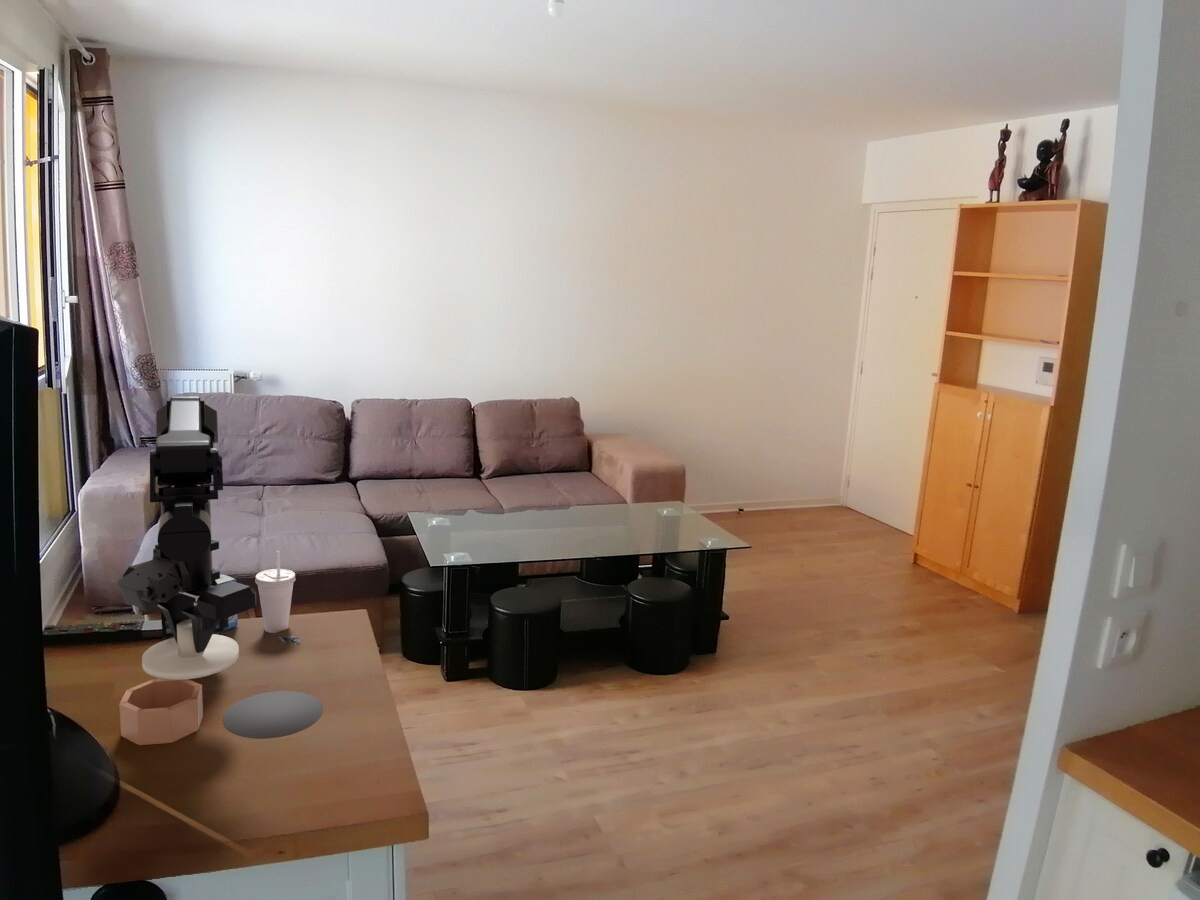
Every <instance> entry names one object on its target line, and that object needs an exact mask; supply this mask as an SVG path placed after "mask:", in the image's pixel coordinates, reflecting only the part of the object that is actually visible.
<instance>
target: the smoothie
mask: <svg viewBox="0 0 1200 900" xmlns="http://www.w3.org/2000/svg"><path fill="white" fill-rule="evenodd" d="M275 554H276V568H272V569H265V570H262V571H260V572H258V573H257V574H256V575H255V580H254V581H255V584H256V585H257V589H258V595H259V601H260V602H259V603H260V608H261V614H262V621H263V625H264V631H265V632H266V633H269V634H277V633H280V632H282V631H285V630H287V629H289V622H290V621H289V620H290V613H291V605H292V596H293V587H294V582H295V581H296V573H295V572H294V571H293V570H291V569H286V568H281V551H280V550H276V552H275Z"/></svg>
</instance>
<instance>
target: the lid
mask: <svg viewBox="0 0 1200 900" xmlns="http://www.w3.org/2000/svg"><path fill="white" fill-rule="evenodd" d="M177 644H178V645H177ZM239 657H240V647H239V644H238V642H237V641H236V640H235V639H233V638H231V637H229V636H225V635H222V634H221V635H220V634H213V635H212V637H211V639H210V641H209V643H208V645H207V647H206V649H205V650H204V651H203V652H200V653H197V652H196V650H195V646H194V639H193V631H192V623H191V619H188V620H184V621H181V622H179V623H178V624H177V643H176V640H175V638H172V637H170V638H168V639H167V638H166V639H165V640H162V641H159V642H157V643H155V644H153V645H152V646H150V647H149V648H147V649H146V650H145V651H144V652H143V654H142V656H141V661H142V662H141V664H142V670H143V672H144V673H146V674H147V675H149V676H151V677H154V678H156V679H170V680H184V679H189V680H191V679H199V678H204V677H208V676H211V675H214V674H218V673H220V672H222V671H224V670H226V669H228V668H229V667H231V666H233V665H234V664H235V663H236V662H237V660H238V659H239Z"/></svg>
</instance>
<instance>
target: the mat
mask: <svg viewBox="0 0 1200 900" xmlns="http://www.w3.org/2000/svg"><path fill="white" fill-rule="evenodd" d="M323 711H324V707H323V704H322V703H321V701H320V700H319V699H318V698H316V697H315V696H314V695H311V694H309V693H306V692H300V691H293V690H277V691H268V692H263V693H258V694H254V695H250V696H247V697H245V698H243V699H241V700H239V701H237V702H236V703H234V704H232V705H231V706H230V707H229V708H228V709H227V710H226V711H225V713H224V714H223V717H222V724H223V726H224V728H225V729H226V730H228V731H229V732H231V733H232V734H234V735H236V736H240V737H244V738H249V739H273V738H281V737H286V736H289V735H293V734H297V733H298V732H301V731H304V730H306V729H307V728H309V727H311V726H312V725H314V724H315V723H316V722H317V721H318V720H319V719H320V718H321V717H322V715H323Z"/></svg>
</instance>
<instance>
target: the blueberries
mask: <svg viewBox="0 0 1200 900" xmlns="http://www.w3.org/2000/svg"><path fill="white" fill-rule="evenodd" d="M275 639H276V640H277V639H278V642H281V643H282V644H283V645H285V644H292V643H293V644H295V645H296V646H298V645H300V643H301V640H300V638H299V637H297V636H295V635H286V636H283V637H281V636H276V637H275Z"/></svg>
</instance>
